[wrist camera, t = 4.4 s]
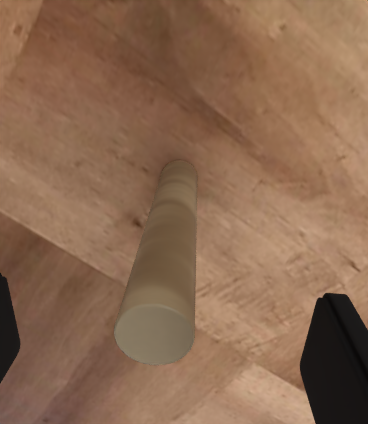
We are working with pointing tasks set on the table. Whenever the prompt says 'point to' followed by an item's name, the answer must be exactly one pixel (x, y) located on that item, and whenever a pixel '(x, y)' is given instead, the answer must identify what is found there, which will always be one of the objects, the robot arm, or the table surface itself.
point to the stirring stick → (163, 275)
